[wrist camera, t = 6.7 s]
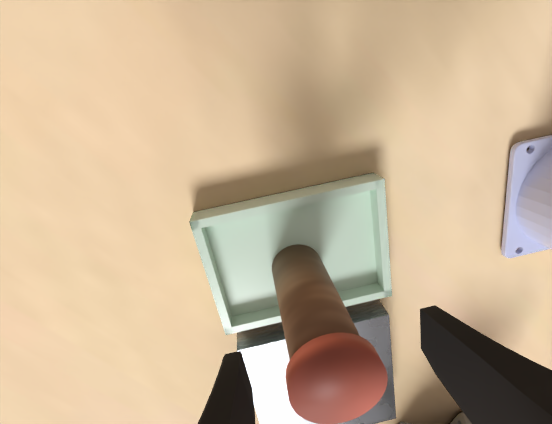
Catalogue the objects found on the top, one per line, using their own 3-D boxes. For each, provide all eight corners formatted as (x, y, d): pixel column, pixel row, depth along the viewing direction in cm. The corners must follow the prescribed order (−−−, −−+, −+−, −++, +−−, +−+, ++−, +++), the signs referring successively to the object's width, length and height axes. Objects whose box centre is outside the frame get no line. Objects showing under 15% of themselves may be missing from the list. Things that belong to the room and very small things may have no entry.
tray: (373, 172, 19) (384, 178, 17) (381, 282, 22) (391, 295, 20) (193, 212, 18) (189, 221, 17) (226, 319, 21) (225, 335, 20)
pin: (321, 233, 19) (384, 337, 11) (329, 284, 21) (390, 410, 12) (261, 247, 19) (279, 363, 11) (273, 298, 20) (297, 434, 12)
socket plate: (376, 296, 22) (388, 314, 20) (384, 394, 26) (396, 418, 24) (237, 329, 22) (237, 351, 20) (266, 424, 25) (268, 450, 23)
